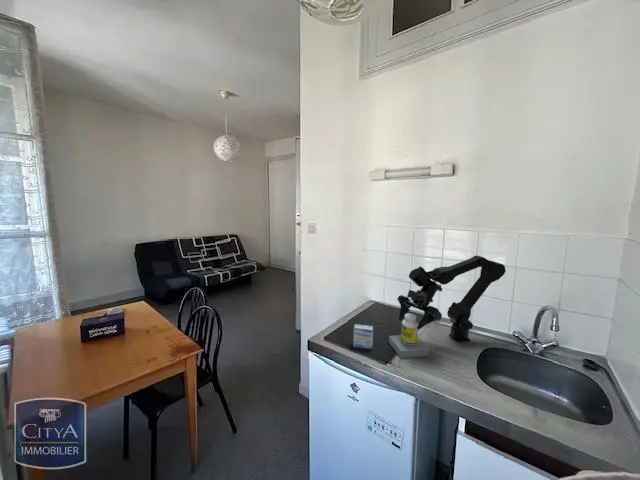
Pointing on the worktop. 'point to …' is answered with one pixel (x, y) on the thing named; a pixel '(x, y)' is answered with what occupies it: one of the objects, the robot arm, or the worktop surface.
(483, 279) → the robot arm
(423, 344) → the riser
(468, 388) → the worktop surface
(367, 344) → the medicine box
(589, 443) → the worktop surface
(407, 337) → the pill bottle
